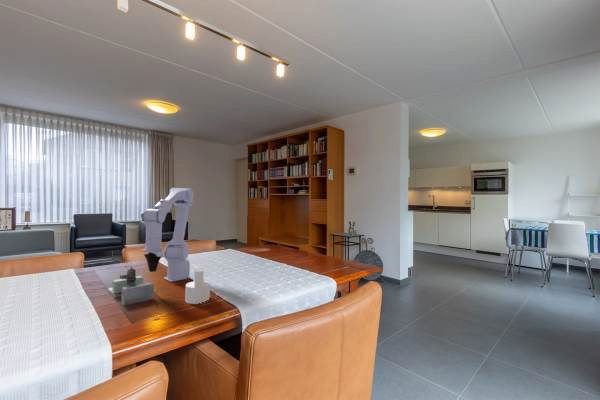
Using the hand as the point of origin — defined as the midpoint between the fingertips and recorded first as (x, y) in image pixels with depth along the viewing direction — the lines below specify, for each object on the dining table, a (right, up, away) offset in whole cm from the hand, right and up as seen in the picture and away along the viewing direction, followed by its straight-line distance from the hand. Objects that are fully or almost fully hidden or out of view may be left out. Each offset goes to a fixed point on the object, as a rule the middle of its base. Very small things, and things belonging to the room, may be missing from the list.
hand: (152, 271), depth 112 cm
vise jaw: (-10, -7, 0) cm, 13 cm away
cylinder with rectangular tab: (+20, -10, -6) cm, 23 cm away
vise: (-7, -9, -3) cm, 12 cm away
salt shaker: (-6, -9, -6) cm, 12 cm away
